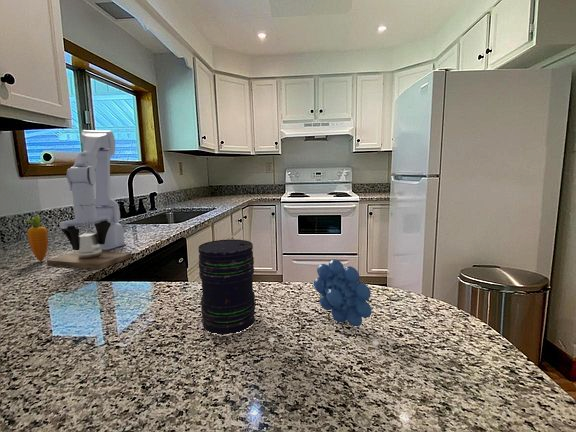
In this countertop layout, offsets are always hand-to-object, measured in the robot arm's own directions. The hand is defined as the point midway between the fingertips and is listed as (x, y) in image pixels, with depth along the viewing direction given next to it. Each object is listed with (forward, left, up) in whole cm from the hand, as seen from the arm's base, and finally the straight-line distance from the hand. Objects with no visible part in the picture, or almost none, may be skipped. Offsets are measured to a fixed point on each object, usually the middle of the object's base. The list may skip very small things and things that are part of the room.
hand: (89, 246), depth 97 cm
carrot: (+4, -16, -5) cm, 17 cm away
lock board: (0, 0, -5) cm, 5 cm away
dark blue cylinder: (+26, +62, -5) cm, 67 cm away
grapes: (+22, +82, -5) cm, 85 cm away
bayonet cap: (0, 0, -3) cm, 3 cm away
